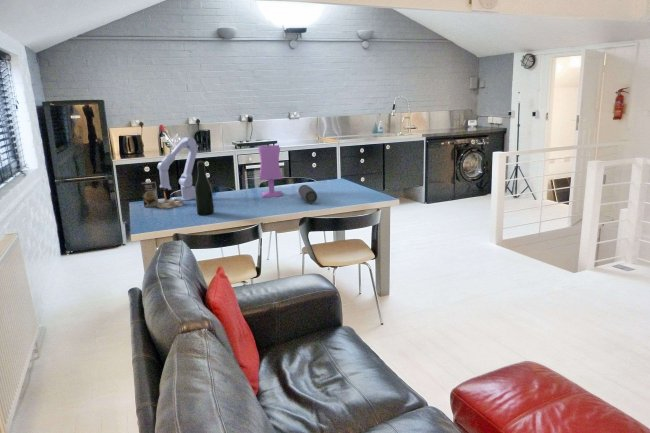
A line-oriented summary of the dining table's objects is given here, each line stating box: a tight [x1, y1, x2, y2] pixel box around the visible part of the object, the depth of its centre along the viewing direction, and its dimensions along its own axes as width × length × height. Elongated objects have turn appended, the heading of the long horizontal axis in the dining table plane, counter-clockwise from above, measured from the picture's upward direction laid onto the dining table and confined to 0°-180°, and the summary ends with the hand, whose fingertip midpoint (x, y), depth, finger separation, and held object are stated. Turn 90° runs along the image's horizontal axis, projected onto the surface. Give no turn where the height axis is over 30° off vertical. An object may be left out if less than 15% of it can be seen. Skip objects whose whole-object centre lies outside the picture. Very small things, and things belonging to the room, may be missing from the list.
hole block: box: [156, 198, 184, 210], centre depth 318 cm, size 14×10×3 cm
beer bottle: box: [194, 160, 215, 216], centre depth 289 cm, size 10×10×33 cm
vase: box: [257, 144, 283, 198], centre depth 337 cm, size 16×16×35 cm
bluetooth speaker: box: [298, 184, 318, 204], centre depth 317 cm, size 23×9×10 cm, turn 14°
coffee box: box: [140, 181, 159, 208], centre depth 319 cm, size 9×6×16 cm
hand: (167, 198), depth 327 cm, fingers open, 4 cm apart
